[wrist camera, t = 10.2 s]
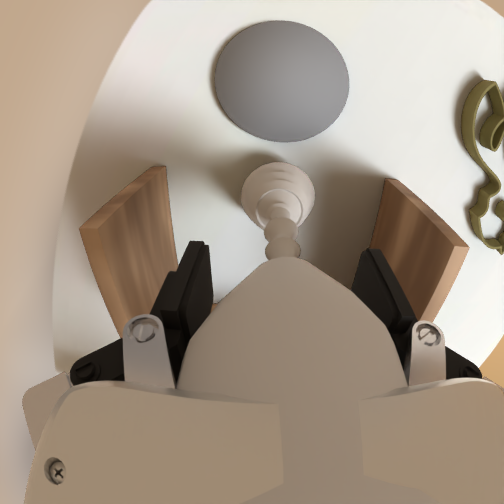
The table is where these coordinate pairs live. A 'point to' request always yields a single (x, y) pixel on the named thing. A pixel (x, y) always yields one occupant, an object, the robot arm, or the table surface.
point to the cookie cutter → (490, 137)
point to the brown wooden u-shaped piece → (165, 259)
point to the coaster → (282, 81)
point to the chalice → (299, 355)
